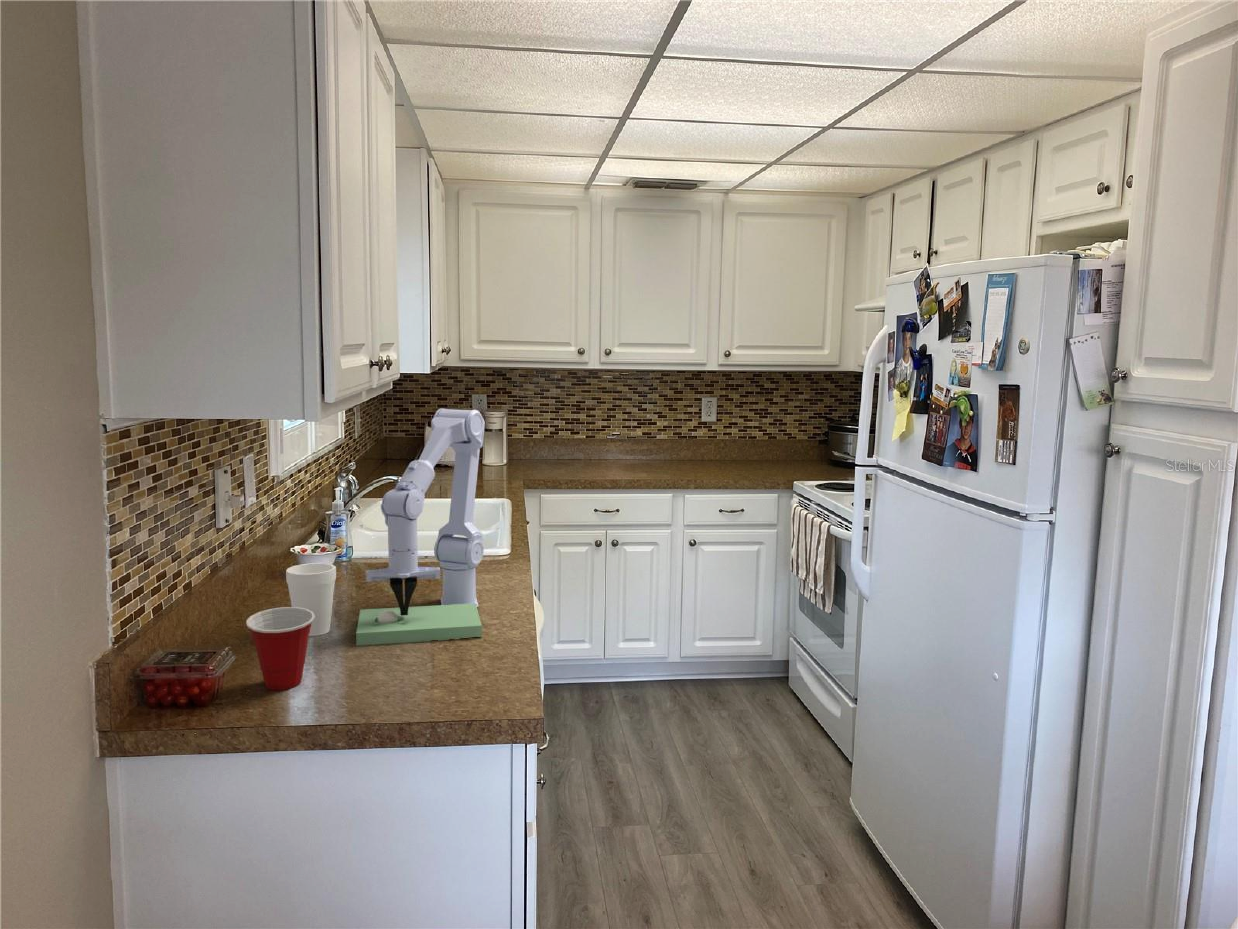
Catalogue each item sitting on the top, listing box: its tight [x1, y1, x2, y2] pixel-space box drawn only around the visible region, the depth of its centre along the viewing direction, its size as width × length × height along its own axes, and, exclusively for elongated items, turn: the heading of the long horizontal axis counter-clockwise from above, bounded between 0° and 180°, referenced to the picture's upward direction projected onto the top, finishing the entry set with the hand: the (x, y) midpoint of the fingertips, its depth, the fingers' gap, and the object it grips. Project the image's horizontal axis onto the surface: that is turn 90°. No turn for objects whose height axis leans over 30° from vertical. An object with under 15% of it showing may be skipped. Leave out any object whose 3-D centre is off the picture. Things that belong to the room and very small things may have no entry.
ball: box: [378, 610, 398, 624], centre depth 177 cm, size 4×4×4 cm
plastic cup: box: [245, 606, 315, 691], centre depth 147 cm, size 11×11×12 cm
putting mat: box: [355, 603, 483, 647], centre depth 178 cm, size 16×24×2 cm, turn 104°
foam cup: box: [285, 562, 337, 637], centre depth 175 cm, size 10×9×13 cm
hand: (404, 614), depth 177 cm, fingers closed
